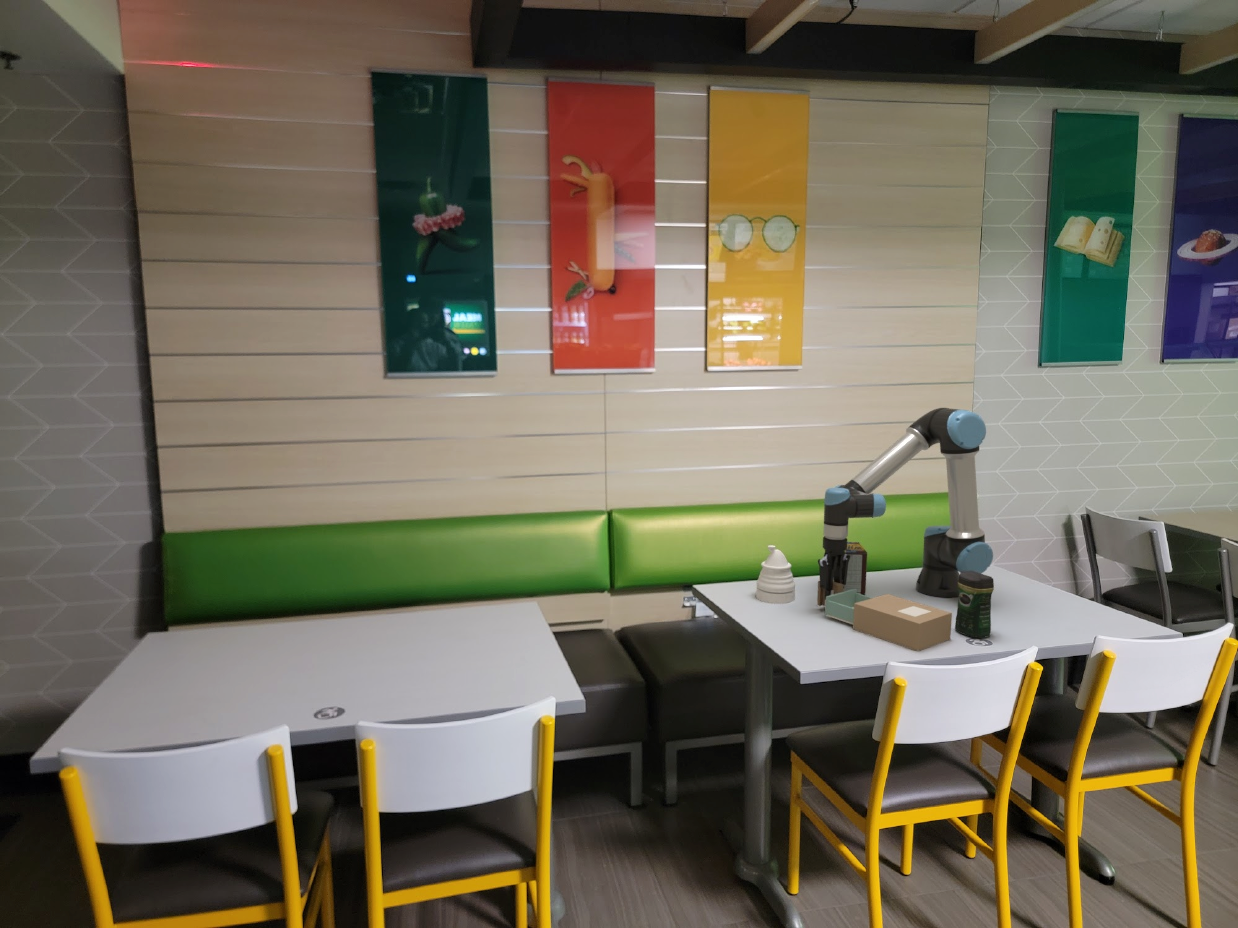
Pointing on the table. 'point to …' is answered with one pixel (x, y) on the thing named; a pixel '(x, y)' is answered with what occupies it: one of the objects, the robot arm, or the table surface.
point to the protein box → (856, 568)
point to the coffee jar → (974, 604)
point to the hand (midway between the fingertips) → (832, 608)
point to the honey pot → (775, 579)
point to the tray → (840, 602)
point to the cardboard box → (902, 621)
